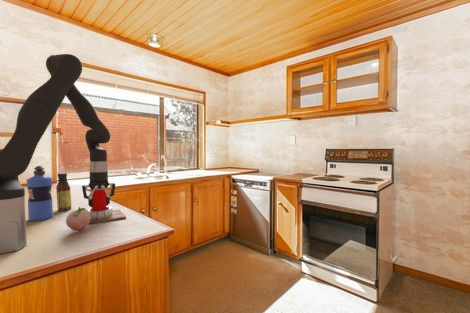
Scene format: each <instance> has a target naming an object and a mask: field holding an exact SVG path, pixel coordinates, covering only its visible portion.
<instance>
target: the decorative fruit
mask: <svg viewBox="0 0 470 313" xmlns="http://www.w3.org/2000/svg"><path fill="white" fill-rule="evenodd" d="M87 210H88V209H86V208H85V207H80V206H78V209H75V210H72V211H70V213H68V215H67V216H66V218H65V224H66V226H67V228H69V229H70V230H72V231H76V232H83V231H84V230H85V229H87V227H88V226H89V225H88V224H89V223H90V220H91V214H90V212H89V211H87Z"/></svg>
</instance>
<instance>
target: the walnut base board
mask: <svg viewBox="0 0 470 313" xmlns="http://www.w3.org/2000/svg"><path fill="white" fill-rule="evenodd" d="M126 219H127V216H126V214H124V212H123V211H121V209H119V208H118V209H114V210H113V209H112V216H110V217H107V218H104V219H94V220H92V219H91V220H90V223H89V224H88V226H89V225H95V224H102V223H107V222H113V221H120V220H126Z"/></svg>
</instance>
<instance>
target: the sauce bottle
mask: <svg viewBox="0 0 470 313" xmlns="http://www.w3.org/2000/svg"><path fill="white" fill-rule="evenodd" d="M67 176H68V174H67V172H63V173H61V172H59V173H57V177H58V180H57V184H56V187H55V189H56V192H55V194H56V203H57V206H56V207H57V211H60V212H63V211H68V210H71V209H72V194H71V193H72V192H71V191H72V190H71V186H70V183H69V182H68V177H67Z"/></svg>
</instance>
